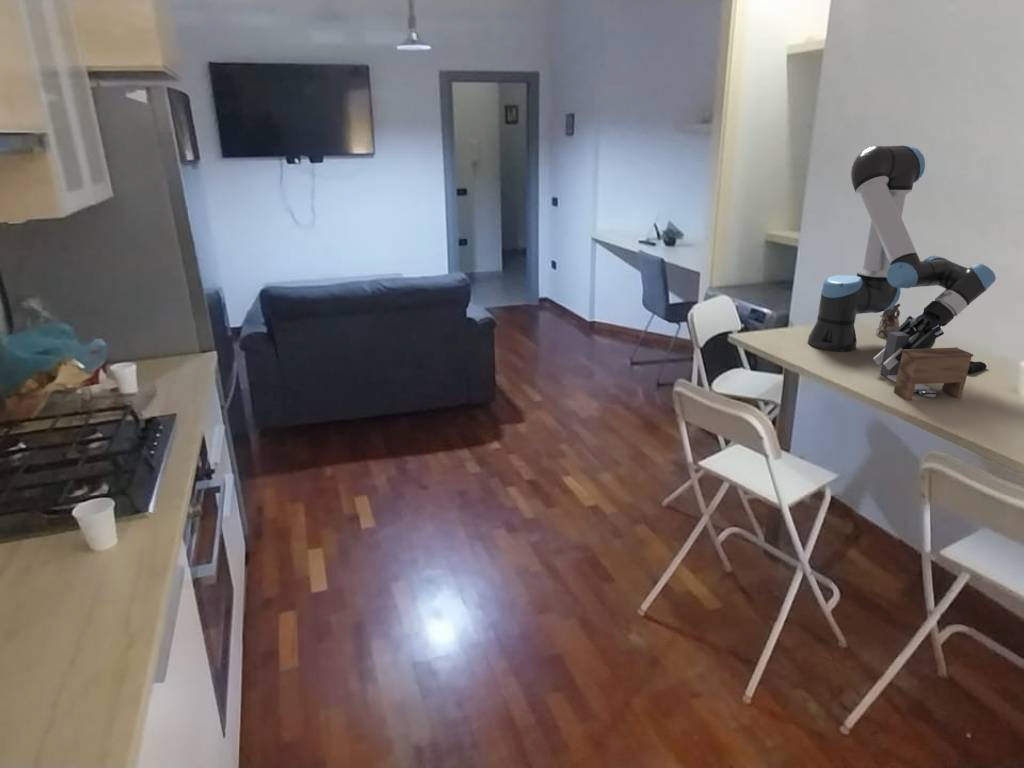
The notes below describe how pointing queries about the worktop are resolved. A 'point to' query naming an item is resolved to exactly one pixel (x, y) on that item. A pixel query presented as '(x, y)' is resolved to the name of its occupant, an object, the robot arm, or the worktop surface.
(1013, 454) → the worktop surface
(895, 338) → the grey block with plate
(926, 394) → the dark grey round piece
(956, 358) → the walnut stool
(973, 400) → the worktop surface
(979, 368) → the door handle
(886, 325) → the figurine
